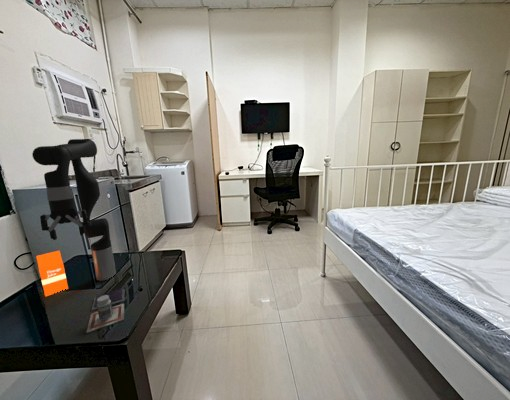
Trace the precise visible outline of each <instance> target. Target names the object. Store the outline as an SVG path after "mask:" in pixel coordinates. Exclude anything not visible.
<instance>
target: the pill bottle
mask: <svg viewBox="0 0 510 400" xmlns="http://www.w3.org/2000/svg"><path fill="white" fill-rule="evenodd" d="M97 303H98V304H97V309H96V310H97V312H98V314H99V319H100V320H106V319H109V318H110V317H111V316H112V315H113V310H112V307H113V304H111V300H110V299H109V296H108V295H104V296H101V297H99V298H98V299H97Z"/></svg>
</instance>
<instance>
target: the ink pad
mask: <svg viewBox="0 0 510 400" xmlns="http://www.w3.org/2000/svg"><path fill="white" fill-rule="evenodd" d="M104 295H108V296H109V299H110V300H111V304H112V305H115V304H118V303H121V302H124V301H125V288H119V289H117V290H112V291H109V292H106V293H103V294H98V295H96V296H94V299H93V302H92V307H91V311H95V310H98V309H97V304H98V303H97V299H98V298H99V297H101V296H104Z"/></svg>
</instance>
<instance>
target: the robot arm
mask: <svg viewBox="0 0 510 400" xmlns="http://www.w3.org/2000/svg"><path fill="white" fill-rule="evenodd" d="M31 154H32V159H33V160H34V161H35V162H36V163H37V164H39V165H41V166H56V169H55V170H53V171H51V170H50V171H47V172H45V173H44V175H43V177H44V178H43V179H44V182H45V183H44V184H45V187H46V195H47V201H48V205H49V210H50V214H45V213H43V214H42V215H40V225H41V230H42V231H43V232H44V231H47V232H49V236H50V239H51V240H53V241H56V240H57V239H58V237H57V233H56V229H55V228H56V227H57V226H58V224H60V225H62V224H70V223H74V224H75V225H77V226H78V230H79V235H80V236H83V235H85V238H88V239H92V238H97V237H101V238H100V239H98V240H96V241H94V242H92V243H91V245H90V251H91V255H92V262H93V266H94V271H95V278H96V280H97V281H98V280H99V281H100V282H102V281H107V280H110V279H112V278H114V277H115V276H116V275H117V271H116V263H115V259H114V251H113V247H112V246H113V245H112V242H111V241H112V240H111V233H110V226H109V225H110V223H109V221H108V220H107V218H104V217H103V218H96V219H92V220H91V215H92V212H93V209H94V207H95V206H96V204H97V202H98V201H99V198H100V196H101V193H100V191H101V190H100V186H99V182H98V180H97V179H96V178H95V177H94V176H93V175H92V174H91V172H89V171H88V170H87V168H86V167H85V166H84V164H83V160H82V158H83V159H84V158H93V157H96V156H97V154H98V148H97V144H96V143H95V141H93V140H92V139H89V138H76V139H75V138H74V139H71V138H70V139H69V140H67V143H63V144H57V145H46V146H45V145H44V146H38V147H35V148H34V149H33V151H32V153H31ZM70 164H71V165H72V168H73V172H74V178H75V186H76V190H77V196H78V201H79V205H80V210H78V211H77V209H76V204H75V200H74V195H73V191H72V187H71V183H70V177H69V171H70ZM78 215H79V216H80V217H82V221H81V220H80V219H79V218H78V217H77V216H78ZM49 219H52V220H53V222H52V224H51V225H50V226H49V225H48V220H49ZM115 274H116V275H115ZM114 275H115V276H114ZM113 276H114V277H113ZM111 277H112V278H111ZM109 278H110V279H109Z"/></svg>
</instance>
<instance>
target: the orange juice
mask: <svg viewBox="0 0 510 400" xmlns="http://www.w3.org/2000/svg"><path fill="white" fill-rule="evenodd" d="M36 262H37V266H38V272H39V276H40V279H41V280H40V281H41V284H42V288H43V293H44V297H48V296H51V295H54V293H55V294H57V292H58V293H61V292H63V291H66V290H69V285H68V280H67V276H66V271H65V265H64V262H63V259H62V254H61V250H56V251H51V252H46V253H43V254H39V255H36ZM65 289H66V290H65ZM62 290H63V291H62ZM60 291H61V292H60Z"/></svg>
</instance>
